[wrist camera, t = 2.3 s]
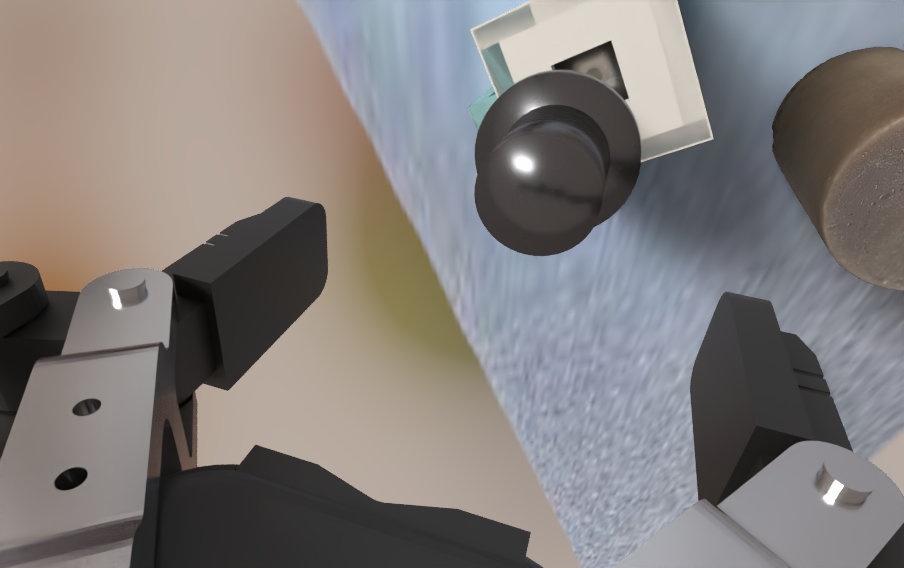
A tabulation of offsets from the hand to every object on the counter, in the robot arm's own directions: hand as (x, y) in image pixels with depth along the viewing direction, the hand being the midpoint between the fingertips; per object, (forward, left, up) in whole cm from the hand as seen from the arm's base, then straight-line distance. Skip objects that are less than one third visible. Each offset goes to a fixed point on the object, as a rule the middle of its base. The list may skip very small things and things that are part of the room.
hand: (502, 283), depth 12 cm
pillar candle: (-11, -13, -34) cm, 38 cm away
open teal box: (0, +1, -34) cm, 34 cm away
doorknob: (0, 0, -23) cm, 23 cm away
